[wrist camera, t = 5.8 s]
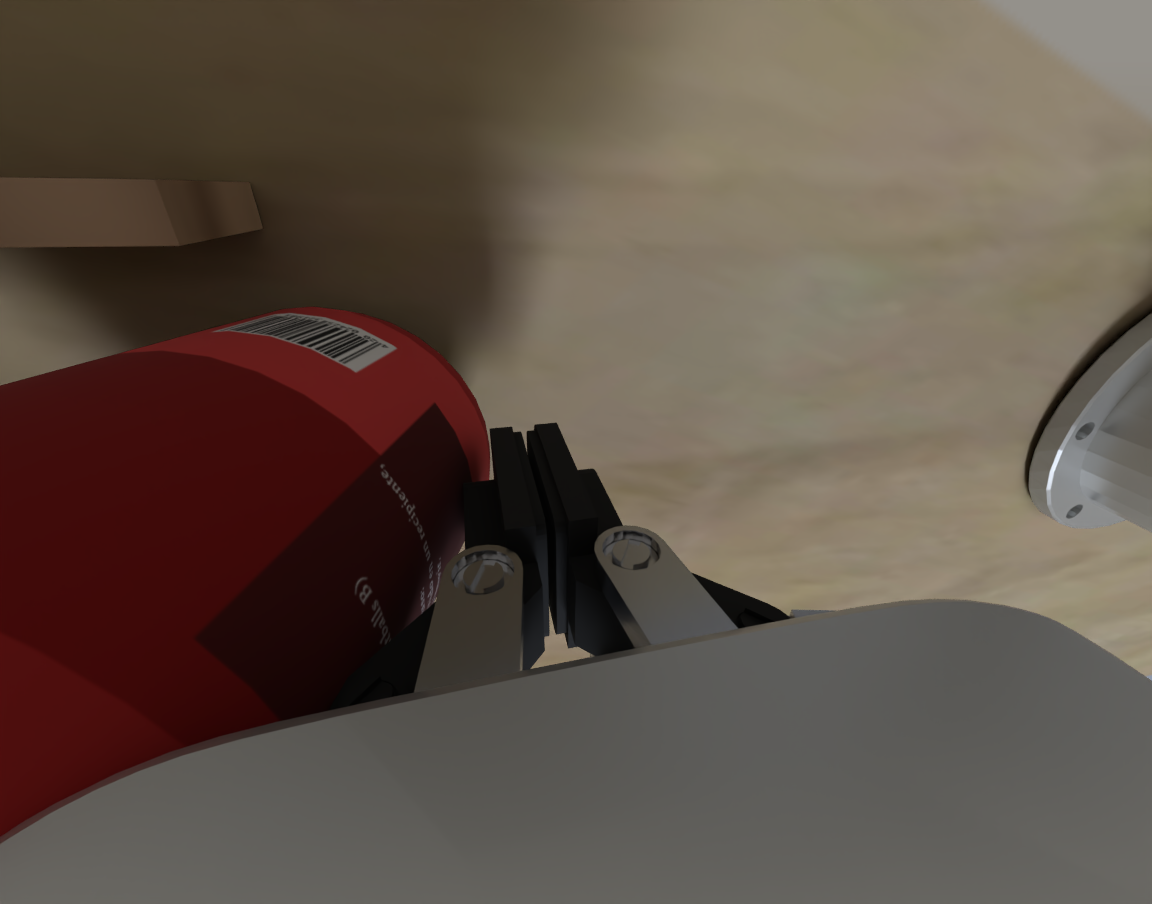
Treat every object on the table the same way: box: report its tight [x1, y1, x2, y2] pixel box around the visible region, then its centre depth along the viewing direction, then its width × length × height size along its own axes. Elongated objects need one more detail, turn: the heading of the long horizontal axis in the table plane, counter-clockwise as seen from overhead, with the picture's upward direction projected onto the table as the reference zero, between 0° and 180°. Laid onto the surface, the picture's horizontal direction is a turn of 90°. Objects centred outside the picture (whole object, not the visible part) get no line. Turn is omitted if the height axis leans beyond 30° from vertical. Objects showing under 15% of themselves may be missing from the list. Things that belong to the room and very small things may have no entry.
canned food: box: [0, 307, 490, 837], centre depth 8 cm, size 8×8×11 cm
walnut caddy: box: [0, 177, 263, 248], centre depth 14 cm, size 11×25×4 cm, turn 179°
